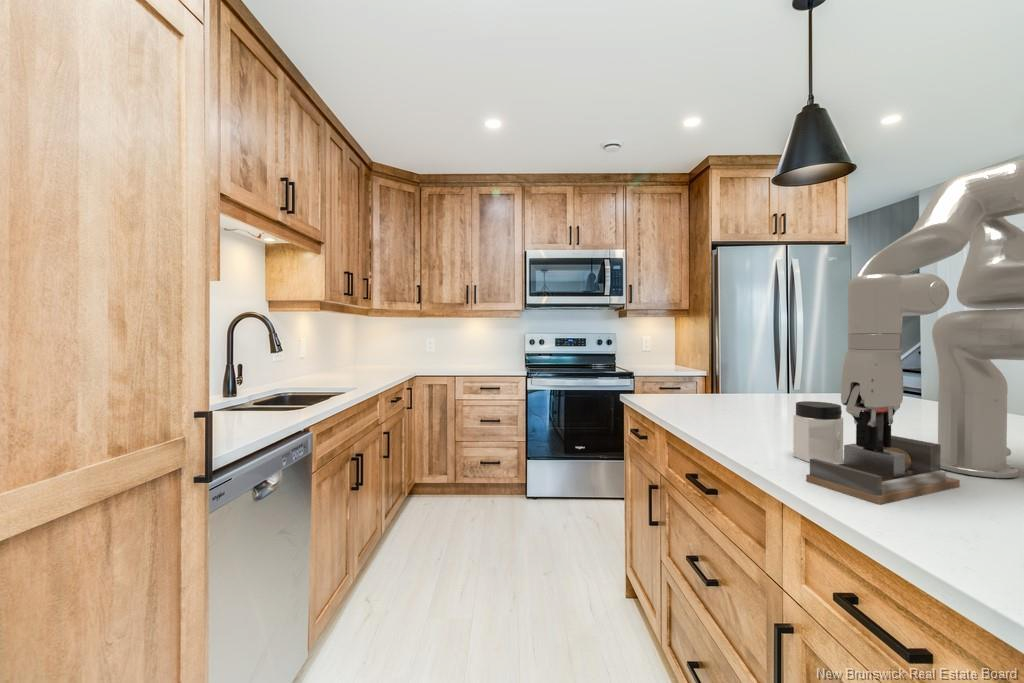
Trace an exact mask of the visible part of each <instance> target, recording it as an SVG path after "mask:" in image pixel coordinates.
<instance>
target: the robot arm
mask: <svg viewBox="0 0 1024 683" xmlns="http://www.w3.org/2000/svg"><path fill="white" fill-rule="evenodd" d="M1021 214H1024V159H1019V160H1013V161H1008V162H1005V163H1001V164H997V165H994V166H990V167H986V168H983V169H982V168H981V169H978V170H975V171H971V172H966V173H964V174H960V175H958V176H954V177H952V178H950V179H948V180H946V181H945V182H944V183H942V184H941V185H940V186H939V187H938V188H937V189H936V191H935V193H933V195H932V197H931V199H930V200H929V202H928V203H927V205H926V206H925V208H924V210H923V211H922V212H921V215H920V216H919V218H918V219H917V221H916V223H915V224H914V226H913V228H912V229H911V230H910V231H909V232H907V233H906V234H904V235H902V236H901V237H899V238H898V239H896V240H895V241H893V242H891V243H890V244H888V245H887V246H885V247H884V248H882V249H881V250H880V251H878V252H877V253H876V254H874V255H873V256H872V257H871V258H869V259H868V260H867V261H866V262H865V263H864V265H862V267H861V268H860V270H859V271H858V273H857V275H856V276H855V277H852V278H851V279H850V281H849V282H848V285H847V351H846V353H845V356H844V361H843V366H842V373H841V386H840V401H841V402H840V403H841V404H842V405H843V406H844V407H846V408H845V412H847V414H849V415H850V416H852V417H853V423H854V424H855V426H856V427H855V444H856V445H857V446H860V447H865V448H869V449H877V448H878V427H876V426H875V419H876V409H879V408H883V407H888V412H884V447H891V435H892V425H893V423H894V415H895V414H896V412H897V411H898V410H899V409H900V408H901V404H902V403H903V398H904V373H903V363H902V356H901V353H903V317H915V316H925V315H931V314H934V313H935V312H938V311H939V310H941V309H942V308H944V306H945V305H946V304H947V303H948V300H949V297H950V289H949V287H948V286H949V285H948V284H947V283H946V282H945V280H944V279H942V278H941V277H939V276H937V275H935V274H931V273H922V272H921V273H920V272H919V273H911V272H914V271H916V270H918V269H921V268H924V267H927V266H929V265H930V266H931V265H933V264H935V263H938V262H940V261H942V260H945V259H948V258H949V257H952V256H954V255H956V254H958V253H959V252H961V251H963V250H964V248H966V246H967V245H968V243H969V247H968V252H967V256H966V259H965V262H964V265H963V269H962V271H961V275H960V277H959V281H958V284H957V288H956V298H957V301H958V302H959V303H960V304H961V305H962V306H964V307H966V308H970V309H972V310H959V311H953V312H950V313H946V314H944V315H942V316H940V317H938V319H937V320H936V321H935V322H934V323H933V326H932V331H931V336H932V342H933V346H934V350H935V351H934V352H935V354H936V360H937V370H938V371H937V372H938V382H937V383H938V384H937V385H938V388H937V389H938V390H937V391H938V394H937V395H938V396H937V397H938V398H937V407H938V408H937V444H941V465H940V470H941V469H942V470H945V471H949V472H952V473H957V474H962V475H968V476H974V477H975V476H976V477H982V478H993V479H994V478H995V479H1013V478H1017V477H1019V474H1020V472H1019V471H1020V470H1019V469H1018V468H1016V467H1015V466H1013V465H1010V464H1007V457H1008V456H1011V454H1012V451H1011V450H1012V449H1010V448H1009V447H1007V442H1008V441H1007V438H1008V392H1009V390H1008V382H1007V379H1006V377H1005V375H1004V373H1002V371H1001V370H1000V369H999V368H998V366H996V365H995V363H993V361H992V360H1000V361H1001V360H1003V361H1004V360H1007V361H1024V230H1022V229H1021V228H1020V227H1018V226H1016V225H1015V224H1013V223H1011V222H1010V221H1008V220H1007V219H1006V218H1005V217H1011V216H1015V215H1021ZM909 273H911V274H909ZM862 404H864V405H865V407H861V406H862ZM864 411H868V415H867V414H866V412H864Z"/></svg>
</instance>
